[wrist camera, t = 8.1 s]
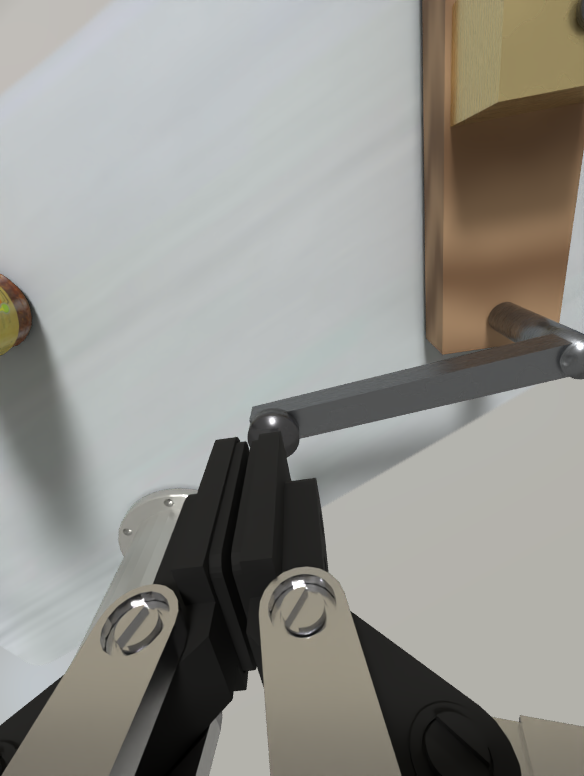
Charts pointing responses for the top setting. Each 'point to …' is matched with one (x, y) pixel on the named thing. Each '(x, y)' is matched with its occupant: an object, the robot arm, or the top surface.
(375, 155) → the top surface
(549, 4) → the tan knob block
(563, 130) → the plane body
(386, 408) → the lever
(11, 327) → the sauce bottle
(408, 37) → the top surface
